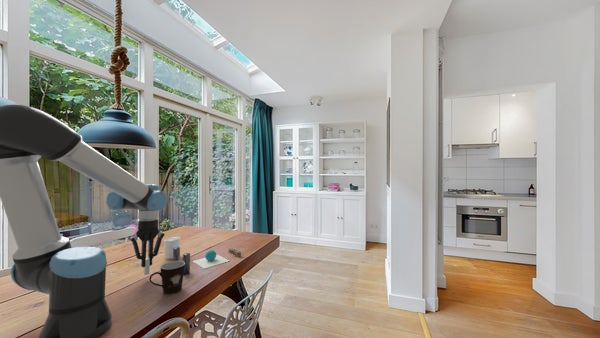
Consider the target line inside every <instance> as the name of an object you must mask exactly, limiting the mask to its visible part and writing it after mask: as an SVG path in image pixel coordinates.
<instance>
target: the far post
mask: <svg viewBox="0 0 600 338" xmlns="http://www.w3.org/2000/svg"><path fill="white" fill-rule="evenodd" d="M180 258H181V246H180V247H175V248H173V259H172V261H181V259H180Z"/></svg>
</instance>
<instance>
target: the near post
mask: <svg viewBox="0 0 600 338" xmlns="http://www.w3.org/2000/svg"><path fill="white" fill-rule="evenodd" d="M182 261H184V262H185V268H184V275H183V276H188V275H190V273H191V270H190V269H191V253H190V252H185V253H183V254H182Z"/></svg>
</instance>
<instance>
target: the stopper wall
mask: <svg viewBox="0 0 600 338" xmlns="http://www.w3.org/2000/svg"><path fill="white" fill-rule="evenodd" d="M229 253H231V254H233V255H232V256H234V255H235V256H234V257H236V256H237V257H236V258H240V257H239V256H241V257H242V251H240V250H237V249H235V248H228V254H229ZM231 254H230V255H231Z"/></svg>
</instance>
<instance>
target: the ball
mask: <svg viewBox="0 0 600 338" xmlns="http://www.w3.org/2000/svg"><path fill="white" fill-rule="evenodd" d="M216 255H217V252H216V251H215V250H214V249H210V250H208V251H206V253H205V255H204V258H206V259H207V260H208V261H212V260H214V259H215V258H216Z"/></svg>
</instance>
